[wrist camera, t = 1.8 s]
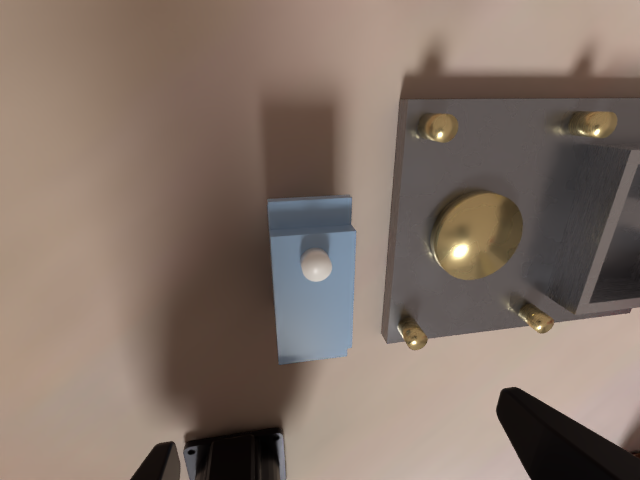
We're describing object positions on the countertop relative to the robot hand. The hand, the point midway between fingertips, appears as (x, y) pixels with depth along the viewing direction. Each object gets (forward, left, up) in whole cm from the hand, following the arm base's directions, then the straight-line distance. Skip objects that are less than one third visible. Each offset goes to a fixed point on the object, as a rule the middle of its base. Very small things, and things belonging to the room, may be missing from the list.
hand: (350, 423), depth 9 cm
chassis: (+1, -14, -11) cm, 18 cm away
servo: (0, 0, -11) cm, 11 cm away
